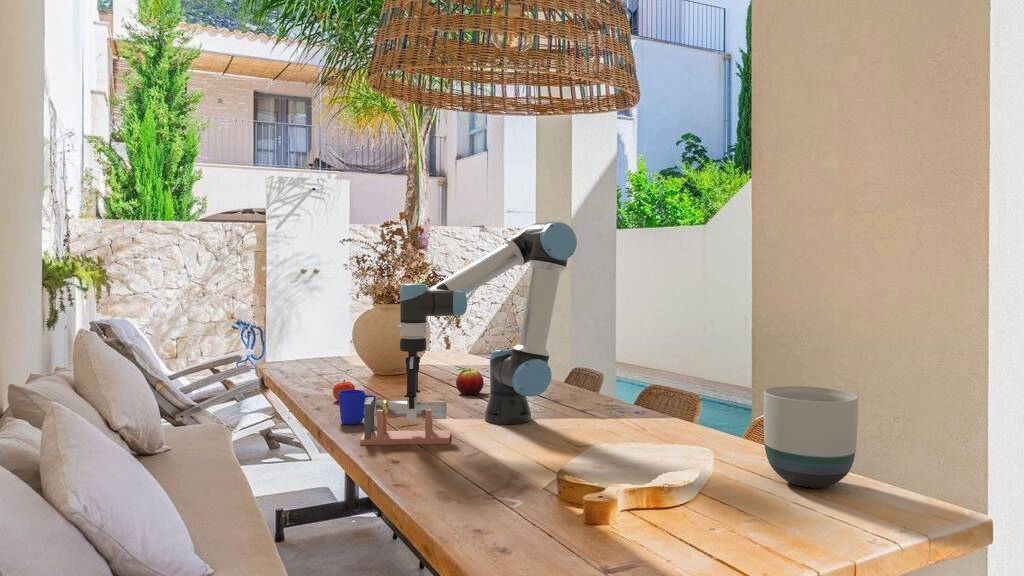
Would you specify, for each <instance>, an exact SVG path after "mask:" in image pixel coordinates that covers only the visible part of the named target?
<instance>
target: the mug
mask: <svg viewBox="0 0 1024 576" xmlns="http://www.w3.org/2000/svg"><path fill="white" fill-rule="evenodd" d="M338 394H339V401H338V404H339V415H340V421H341V423H342V424H343V425H349V426H352V425H353V426H354V425H359V424H361V423H362V422H363V420H364V404H365V402H366V399H367V398H369V397H374V412H376V402H377V397H376V395H373V394H366V392H365V390H362V389H355V390H344V391H340V392H339V393H338Z"/></svg>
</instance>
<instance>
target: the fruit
mask: <svg viewBox="0 0 1024 576" xmlns="http://www.w3.org/2000/svg"><path fill="white" fill-rule="evenodd" d="M456 371H460V372H459V374H458V375H457V377H456V379H455V385H456V389H457V391H458V392H459V393H460V394H462V395H465V396H474V395H478V394H480V393H481V391H482V389H483V387H484V382H485V381H484V378H483V375H482V374H481V373H480V372H479V370H476V369H471V368H468V369H467V368H461V367H460V368H457V369H456Z"/></svg>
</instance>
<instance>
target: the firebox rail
mask: <svg viewBox="0 0 1024 576" xmlns="http://www.w3.org/2000/svg"><path fill="white" fill-rule="evenodd" d="M366 399H367V400H365V404H364V418H363V420H364V426H363V427H364V429H363V431H364V432H363V434H362V436H361V438H360V439H359V444H360V446H370V445H371V446H373V445H374V446H375V445H376V446H377V445H381V446H382V445H389V446H390V445H442V444H443V445H444V444H445V445H448V444H450V442H451V441H450V440H451V430H450V429H446V430H443V429H440V430H433V419H431V409H426V410H425V419H424V427H425V428H424V430H423V429H422V430H387V419H383V410H377V418H376V430H375V411H374V397H367V398H366Z"/></svg>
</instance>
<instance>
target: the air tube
mask: <svg viewBox="0 0 1024 576" xmlns="http://www.w3.org/2000/svg"><path fill="white" fill-rule="evenodd" d="M447 404H448V403H447V401H424V400H423V401H419V400H418V401H417V417H416V420H425V410H426V409H431V419H432V420H447V409H448V408H447V407H448V405H447ZM377 410H383V419H386V420H387V419H395V420H396V419H399V420H401V419H403V420H404V419H405V420H407V400H376V403H375V418H376V419H377Z"/></svg>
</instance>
